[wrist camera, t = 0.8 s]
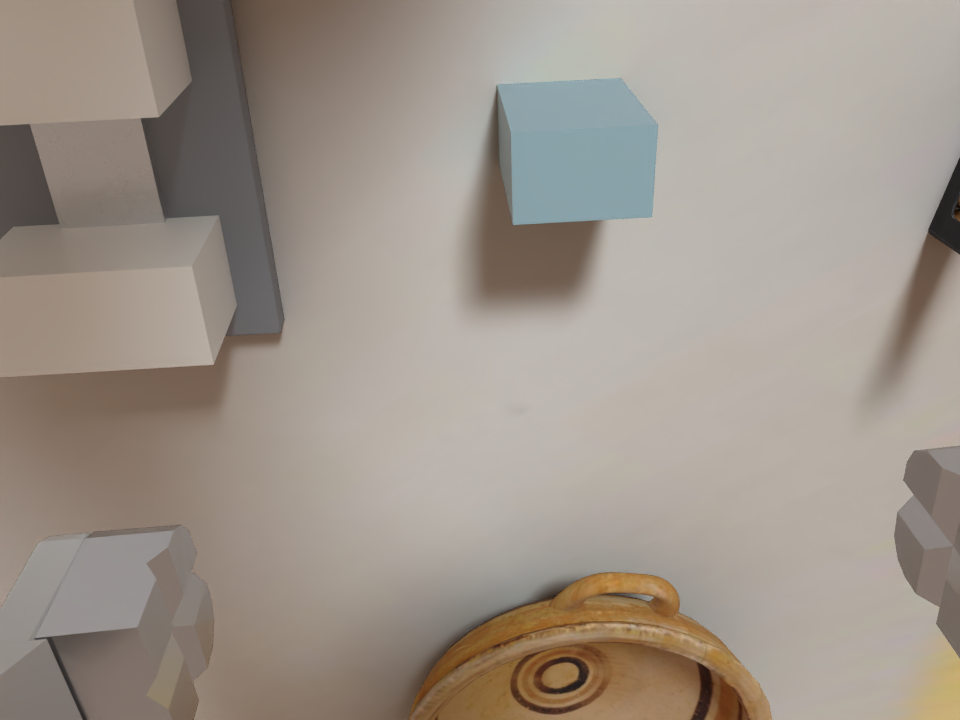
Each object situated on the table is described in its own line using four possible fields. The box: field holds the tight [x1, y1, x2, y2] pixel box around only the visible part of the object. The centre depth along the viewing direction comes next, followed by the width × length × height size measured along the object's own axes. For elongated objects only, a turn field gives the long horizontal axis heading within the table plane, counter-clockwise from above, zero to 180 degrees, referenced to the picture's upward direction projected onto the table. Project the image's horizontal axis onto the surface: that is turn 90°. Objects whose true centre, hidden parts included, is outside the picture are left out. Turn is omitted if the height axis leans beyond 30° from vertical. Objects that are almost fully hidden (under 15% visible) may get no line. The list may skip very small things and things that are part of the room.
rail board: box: [0, 0, 284, 378], centre depth 40 cm, size 20×14×8 cm
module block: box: [497, 78, 658, 225], centre depth 41 cm, size 4×6×8 cm, turn 92°
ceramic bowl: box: [408, 572, 772, 720], centre depth 61 cm, size 30×24×8 cm
